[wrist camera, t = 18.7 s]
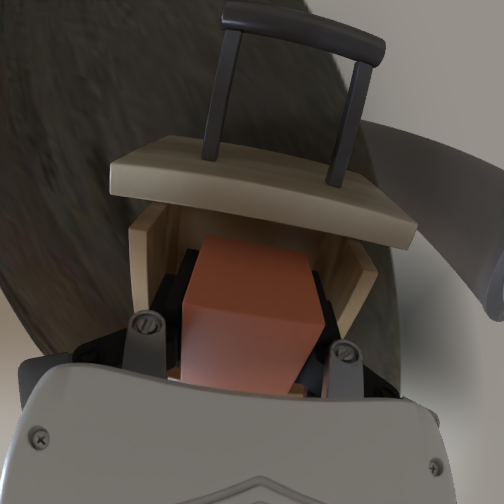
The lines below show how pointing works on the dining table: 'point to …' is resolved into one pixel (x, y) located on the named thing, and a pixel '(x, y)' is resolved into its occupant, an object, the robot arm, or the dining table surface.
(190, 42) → the dining table surface
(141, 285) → the drawer
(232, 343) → the block
